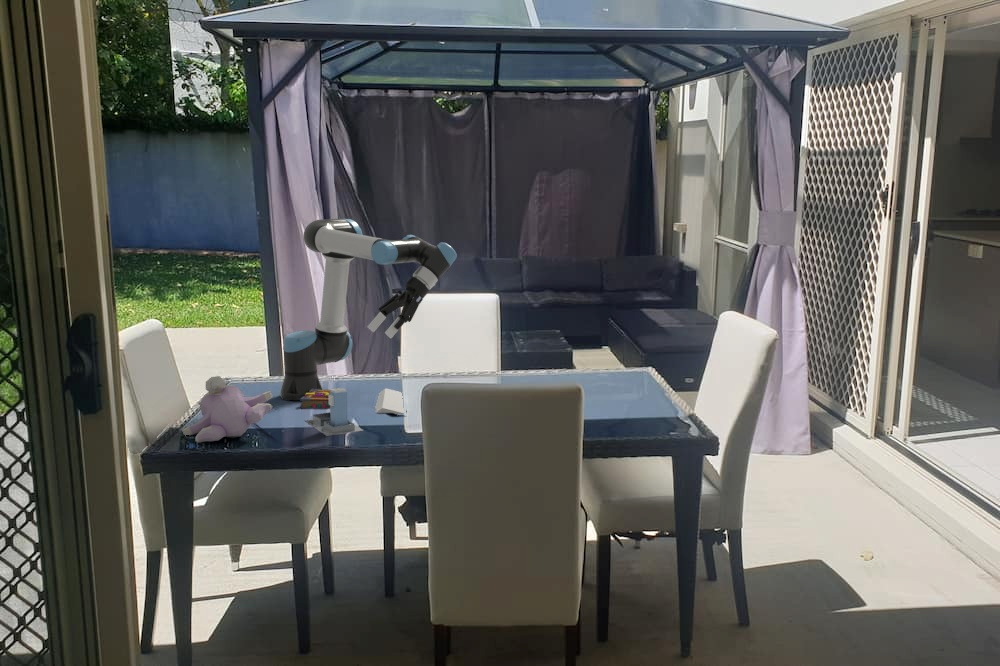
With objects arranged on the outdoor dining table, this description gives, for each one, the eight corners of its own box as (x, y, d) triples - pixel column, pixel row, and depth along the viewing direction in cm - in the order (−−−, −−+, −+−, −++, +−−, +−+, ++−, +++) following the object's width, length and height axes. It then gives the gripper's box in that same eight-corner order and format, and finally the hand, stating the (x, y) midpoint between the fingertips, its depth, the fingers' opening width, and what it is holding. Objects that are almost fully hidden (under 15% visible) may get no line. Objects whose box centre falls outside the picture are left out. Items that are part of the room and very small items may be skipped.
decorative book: (342, 401, 312) (342, 388, 311) (332, 413, 296) (331, 398, 295) (311, 401, 312) (311, 387, 311) (299, 412, 296) (298, 398, 295)
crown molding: (407, 417, 291) (407, 407, 291) (370, 418, 290) (370, 408, 289) (407, 397, 320) (407, 387, 319) (374, 398, 319) (373, 388, 318)
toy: (184, 436, 281) (198, 467, 255) (162, 389, 275) (174, 416, 249) (268, 398, 291) (290, 424, 265) (249, 352, 285) (269, 374, 259)
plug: (328, 428, 271) (327, 389, 269) (342, 426, 273) (341, 387, 271) (333, 431, 267) (332, 391, 265) (347, 429, 270) (346, 390, 268)
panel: (304, 424, 280) (304, 414, 280) (339, 419, 286) (339, 409, 286) (326, 439, 263) (326, 429, 263) (363, 433, 270) (363, 423, 269)
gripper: (446, 295, 274) (403, 346, 269) (411, 287, 295) (371, 334, 290) (431, 279, 270) (387, 330, 265) (396, 272, 291) (355, 319, 286)
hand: (378, 332), depth 277 cm, fingers open, 13 cm apart
